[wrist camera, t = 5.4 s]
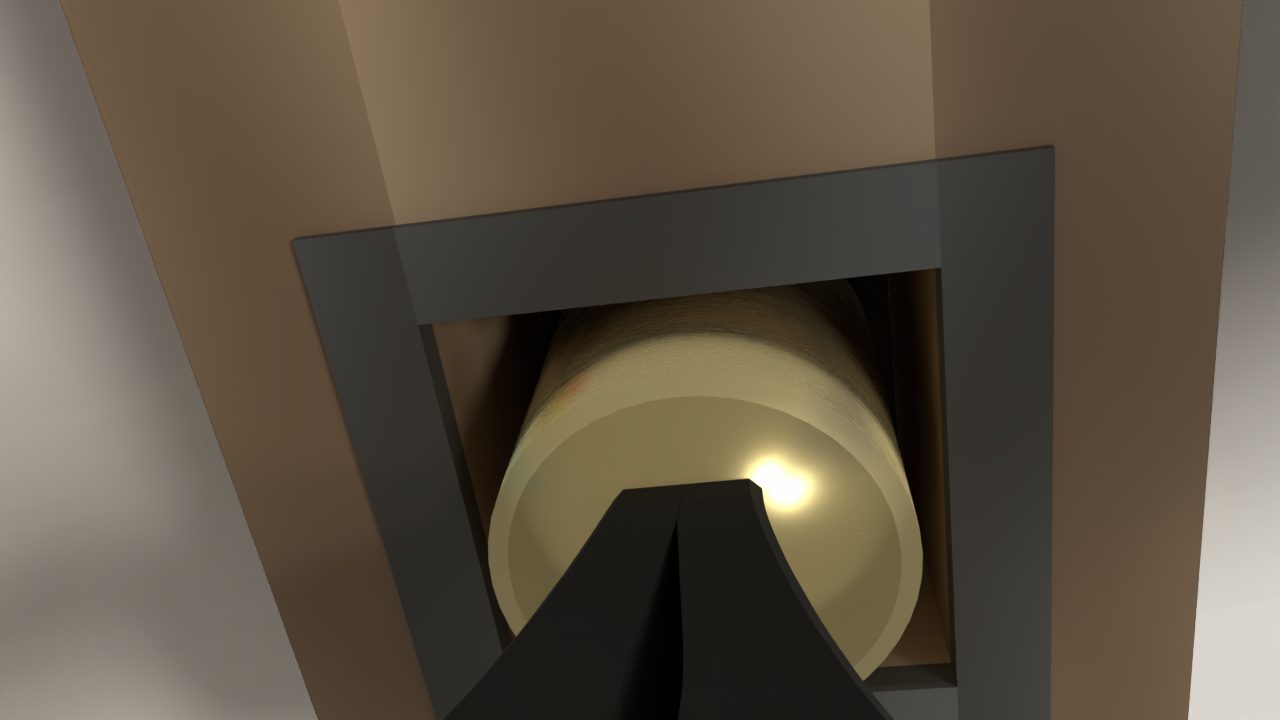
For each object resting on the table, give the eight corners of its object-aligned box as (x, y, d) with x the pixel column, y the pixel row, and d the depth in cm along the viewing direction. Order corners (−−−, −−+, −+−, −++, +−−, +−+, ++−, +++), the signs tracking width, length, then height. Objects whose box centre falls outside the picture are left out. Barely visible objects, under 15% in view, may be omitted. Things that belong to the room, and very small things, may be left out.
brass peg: (861, 194, 14) (913, 355, 10) (880, 484, 16) (932, 721, 11) (527, 233, 14) (444, 401, 10) (583, 509, 16) (532, 743, 12)
